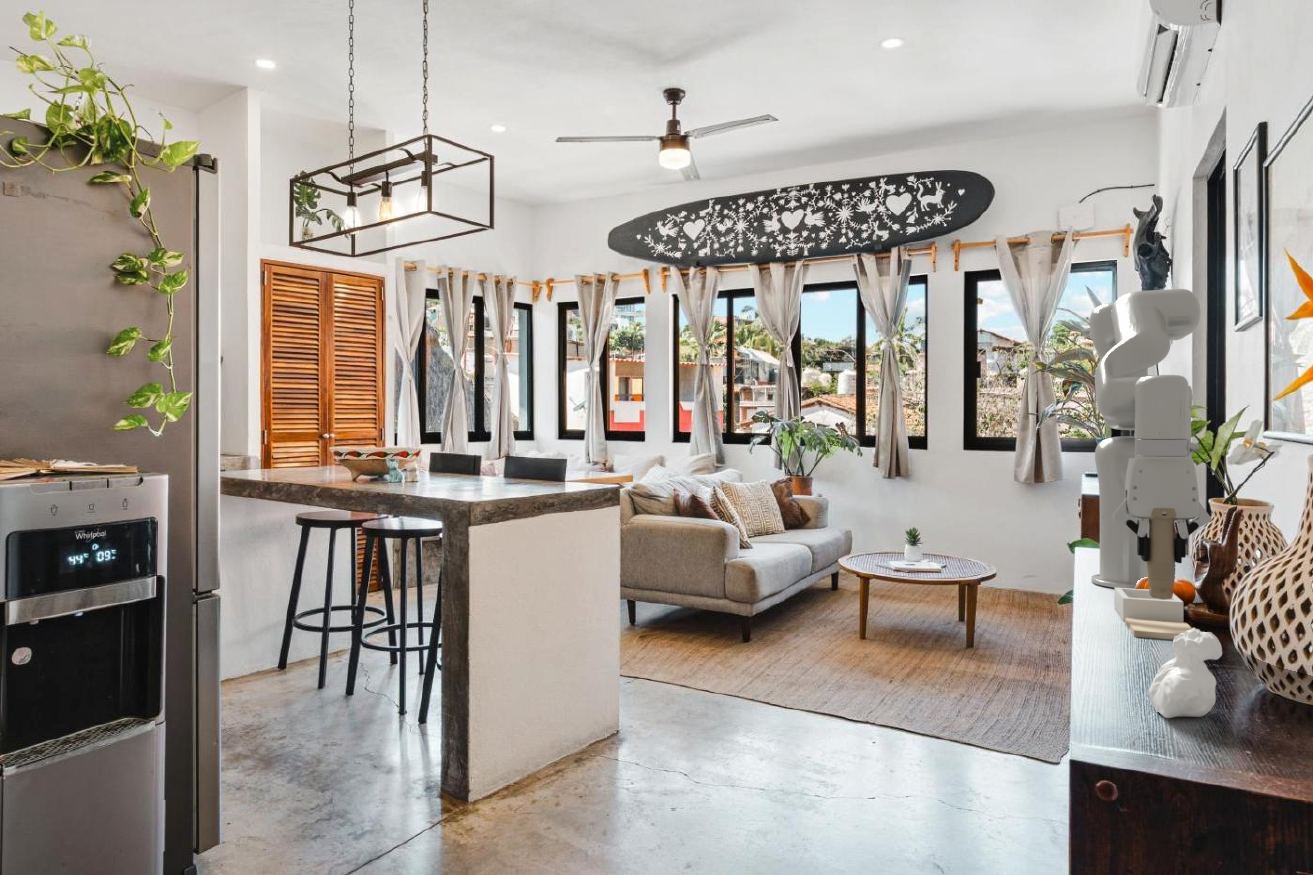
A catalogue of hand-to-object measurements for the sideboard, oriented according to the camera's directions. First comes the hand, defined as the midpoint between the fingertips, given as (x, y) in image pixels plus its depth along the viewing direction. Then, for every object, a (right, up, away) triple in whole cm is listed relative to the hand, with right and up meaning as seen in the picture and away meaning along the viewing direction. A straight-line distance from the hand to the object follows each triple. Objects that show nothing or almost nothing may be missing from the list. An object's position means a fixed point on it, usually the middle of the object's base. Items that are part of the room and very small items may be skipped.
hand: (1161, 559), depth 134 cm
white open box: (+4, -12, +11) cm, 17 cm away
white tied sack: (-20, -13, -36) cm, 44 cm away
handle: (0, -6, 0) cm, 6 cm away
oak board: (0, -12, 0) cm, 12 cm away
